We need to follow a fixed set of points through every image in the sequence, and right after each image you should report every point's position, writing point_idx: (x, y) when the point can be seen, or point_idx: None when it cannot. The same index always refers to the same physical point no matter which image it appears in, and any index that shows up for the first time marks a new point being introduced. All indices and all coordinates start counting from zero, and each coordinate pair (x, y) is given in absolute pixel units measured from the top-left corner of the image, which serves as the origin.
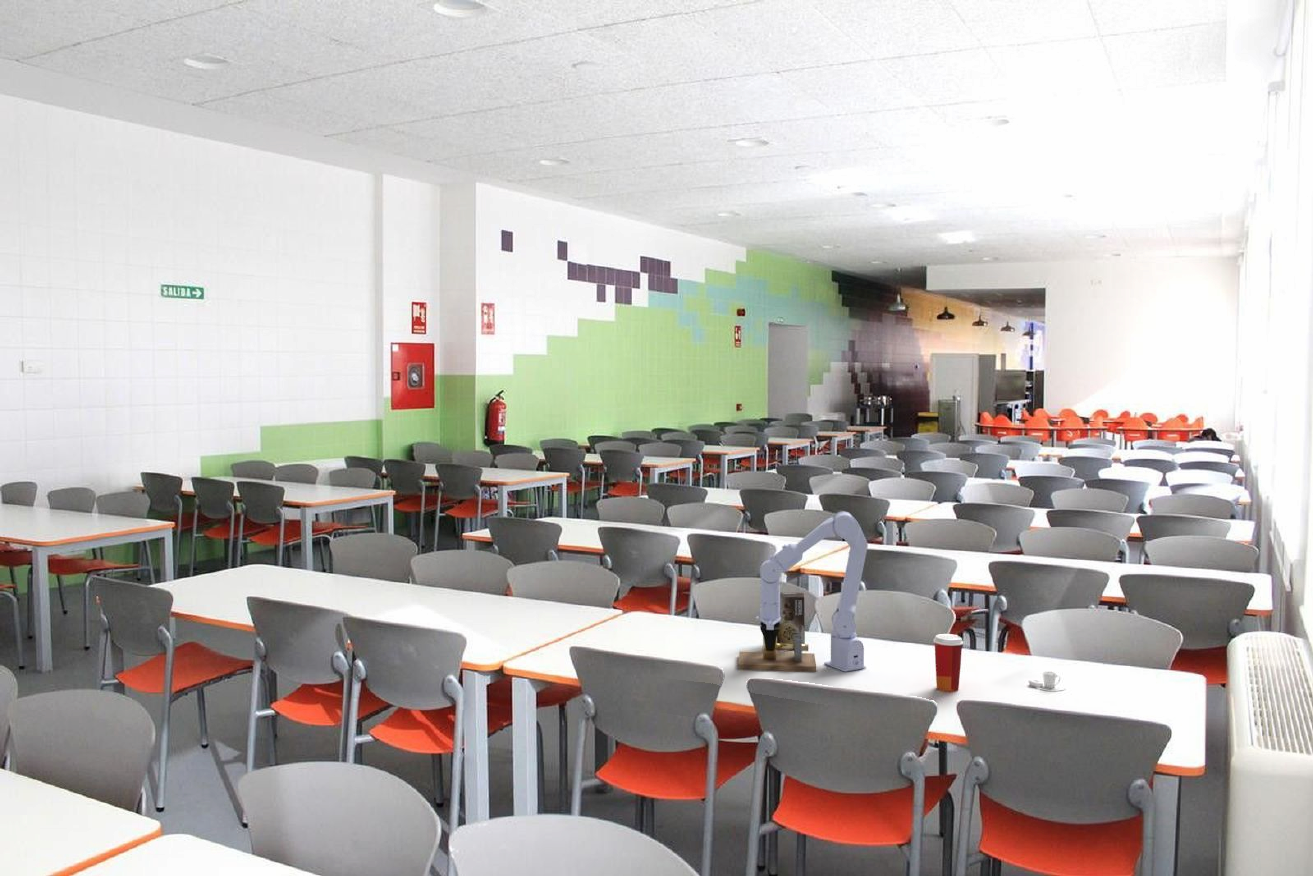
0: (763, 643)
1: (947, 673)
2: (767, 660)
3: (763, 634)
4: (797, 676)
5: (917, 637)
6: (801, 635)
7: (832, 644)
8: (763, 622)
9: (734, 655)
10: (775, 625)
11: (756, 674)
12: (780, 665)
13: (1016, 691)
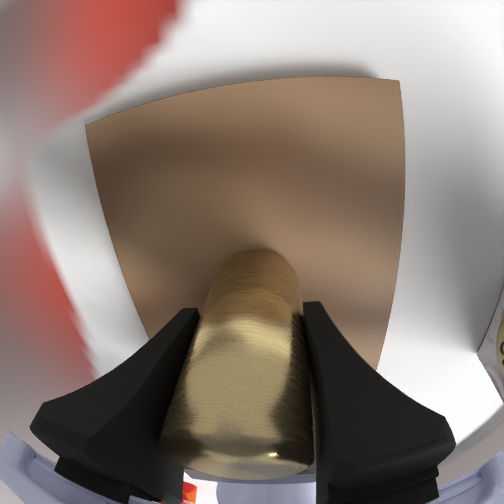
0: (218, 316)
1: None
2: (210, 276)
3: (83, 391)
4: (120, 359)
5: (460, 452)
6: (498, 378)
7: (257, 489)
8: (40, 492)
9: (403, 58)
10: (318, 495)
11: (70, 226)
12: (146, 332)
13: (204, 500)
